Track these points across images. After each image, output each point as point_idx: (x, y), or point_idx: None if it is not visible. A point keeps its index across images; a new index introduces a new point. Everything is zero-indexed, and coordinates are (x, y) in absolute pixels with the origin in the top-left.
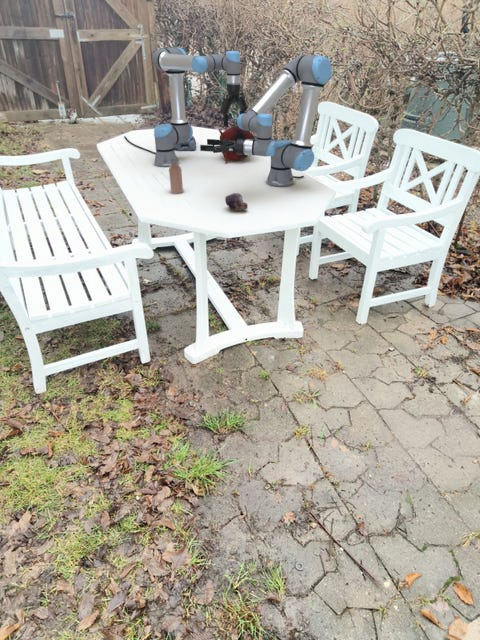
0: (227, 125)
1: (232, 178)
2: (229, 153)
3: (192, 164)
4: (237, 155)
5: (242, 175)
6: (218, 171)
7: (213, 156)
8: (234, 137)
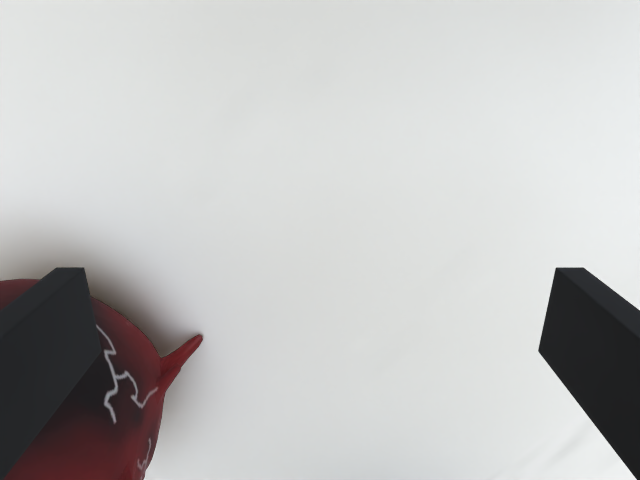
0: (598, 281)
1: (413, 82)
2: (154, 366)
3: (348, 450)
4: (117, 319)
5: (312, 75)
6: (352, 262)
7: (155, 473)
8: (62, 429)
